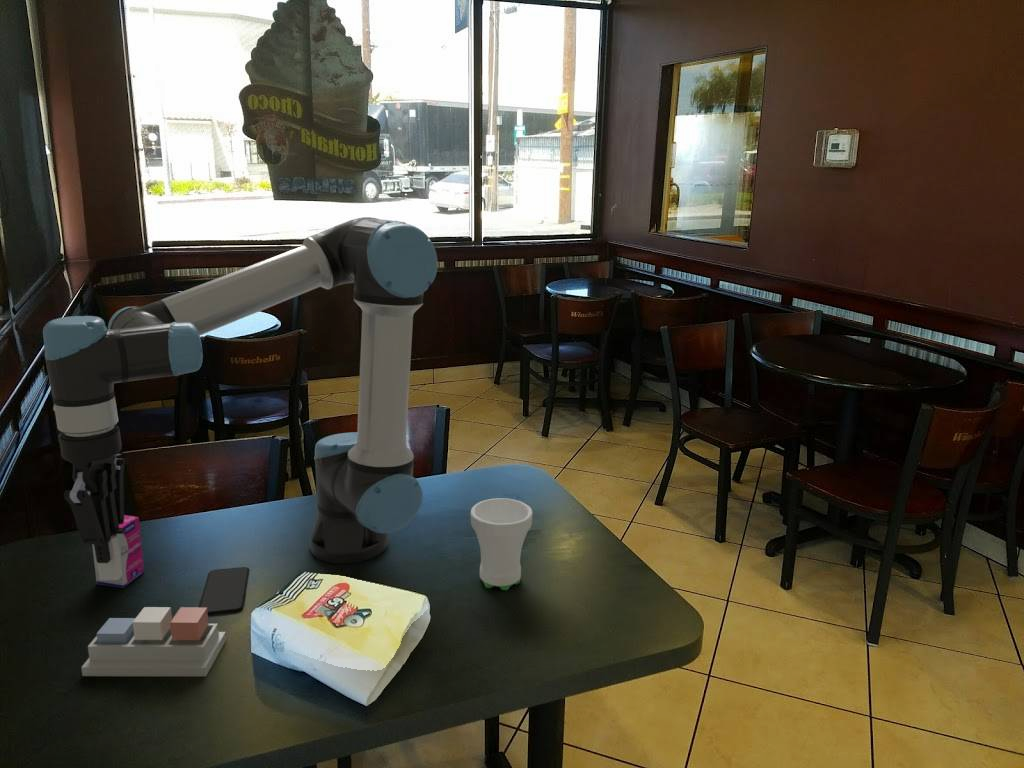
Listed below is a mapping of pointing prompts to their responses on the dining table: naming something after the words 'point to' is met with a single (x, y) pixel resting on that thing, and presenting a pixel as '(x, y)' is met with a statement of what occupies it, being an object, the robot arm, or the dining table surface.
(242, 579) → the smartphone
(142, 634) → the white key
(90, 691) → the dining table surface
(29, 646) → the dining table surface
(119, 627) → the blue key
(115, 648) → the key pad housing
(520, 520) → the cup
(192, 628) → the red key
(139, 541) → the supplement box
